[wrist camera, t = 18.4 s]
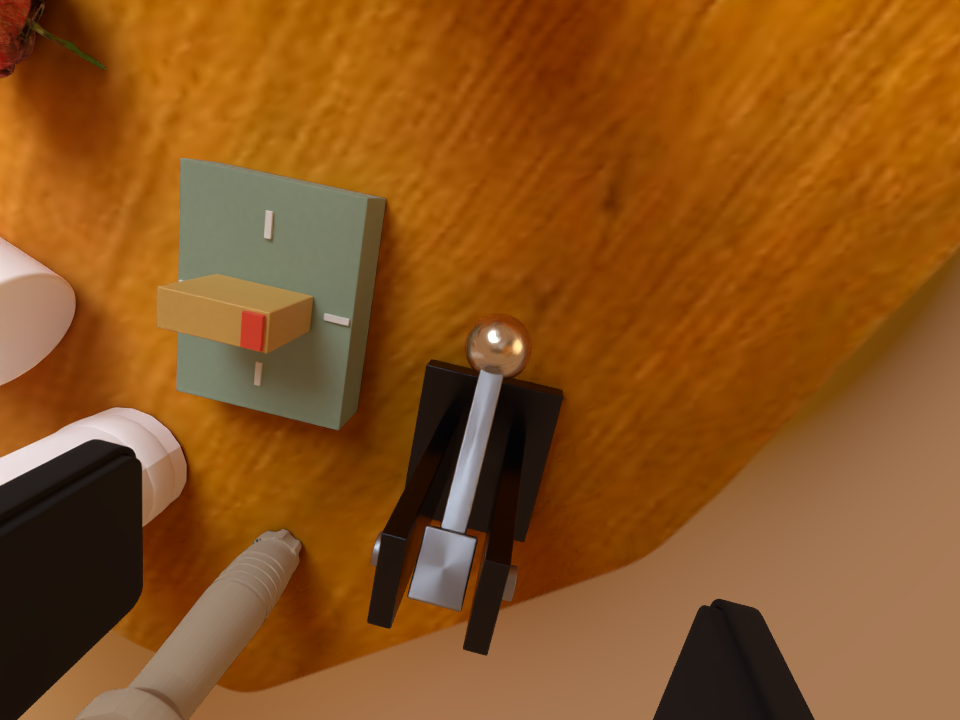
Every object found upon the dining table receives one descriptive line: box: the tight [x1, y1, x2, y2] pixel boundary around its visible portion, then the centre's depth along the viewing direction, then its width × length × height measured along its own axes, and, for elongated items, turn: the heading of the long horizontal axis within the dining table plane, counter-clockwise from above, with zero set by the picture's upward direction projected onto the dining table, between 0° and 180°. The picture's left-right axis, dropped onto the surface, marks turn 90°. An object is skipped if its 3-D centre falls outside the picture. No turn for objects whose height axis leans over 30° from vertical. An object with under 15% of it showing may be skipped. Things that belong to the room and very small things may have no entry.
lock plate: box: [177, 158, 386, 430], centre depth 30 cm, size 13×10×3 cm
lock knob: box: [157, 274, 313, 353], centre depth 26 cm, size 6×2×5 cm, turn 78°
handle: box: [74, 529, 302, 720], centre depth 29 cm, size 5×6×15 cm
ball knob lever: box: [407, 314, 532, 612], centre depth 23 cm, size 13×3×3 cm
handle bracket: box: [367, 359, 563, 655], centre depth 26 cm, size 10×8×13 cm
